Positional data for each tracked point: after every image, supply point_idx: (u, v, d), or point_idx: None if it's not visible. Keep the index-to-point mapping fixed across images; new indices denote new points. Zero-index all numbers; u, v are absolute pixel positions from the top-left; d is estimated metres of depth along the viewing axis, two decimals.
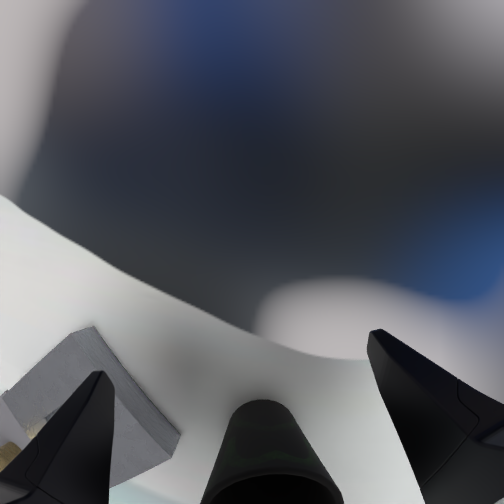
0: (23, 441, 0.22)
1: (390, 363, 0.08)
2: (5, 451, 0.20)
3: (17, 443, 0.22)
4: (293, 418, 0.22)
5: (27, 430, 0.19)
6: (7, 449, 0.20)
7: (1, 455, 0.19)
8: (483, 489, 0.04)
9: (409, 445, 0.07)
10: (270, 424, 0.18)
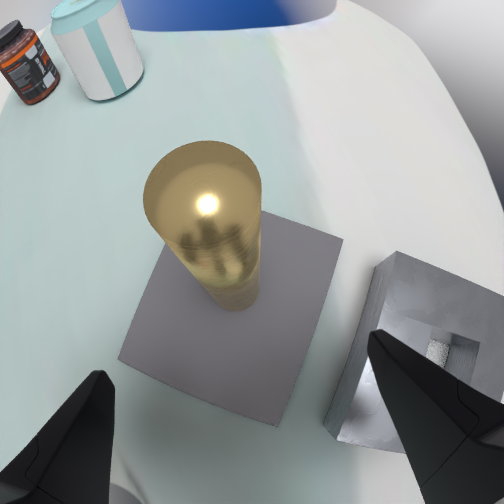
0: (282, 295, 0.21)
1: (390, 363, 0.08)
2: None
3: (264, 286, 0.22)
4: None
5: (386, 310, 0.17)
6: None
7: None
8: (483, 489, 0.04)
9: (409, 445, 0.07)
10: None
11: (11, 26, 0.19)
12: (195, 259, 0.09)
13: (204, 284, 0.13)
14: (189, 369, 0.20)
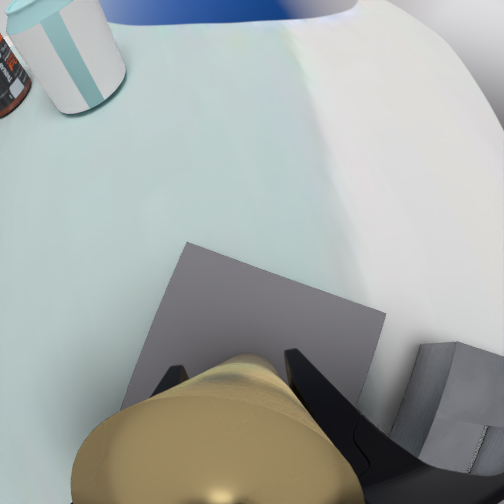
0: None
1: (294, 387, 0.08)
2: None
3: (285, 380, 0.16)
4: None
5: (438, 417, 0.12)
6: None
7: None
8: None
9: None
10: None
11: None
12: None
13: None
14: None
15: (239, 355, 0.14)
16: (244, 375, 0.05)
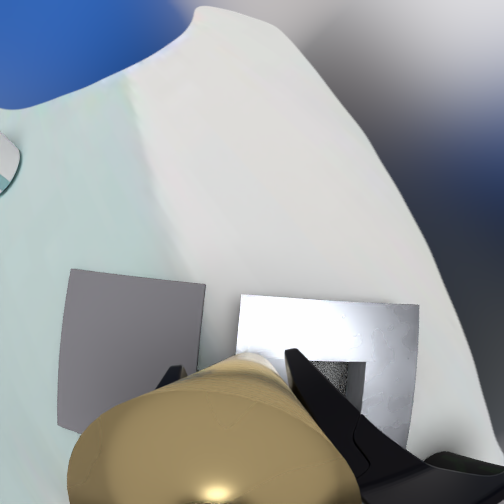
0: (160, 350, 0.22)
1: (294, 387, 0.08)
2: None
3: (143, 345, 0.22)
4: None
5: None
6: None
7: None
8: None
9: None
10: None
11: None
12: None
13: None
14: None
15: (238, 354, 0.14)
16: (241, 372, 0.05)
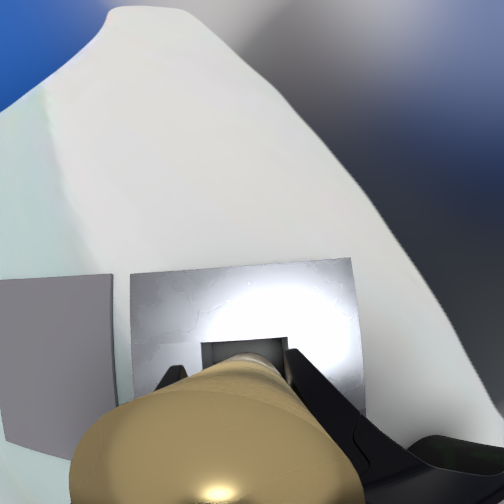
0: (77, 351, 0.19)
1: (294, 387, 0.08)
2: None
3: (61, 347, 0.19)
4: None
5: (137, 343, 0.16)
6: None
7: None
8: None
9: None
10: None
11: None
12: None
13: None
14: (44, 435, 0.17)
15: (239, 354, 0.14)
16: (244, 372, 0.05)
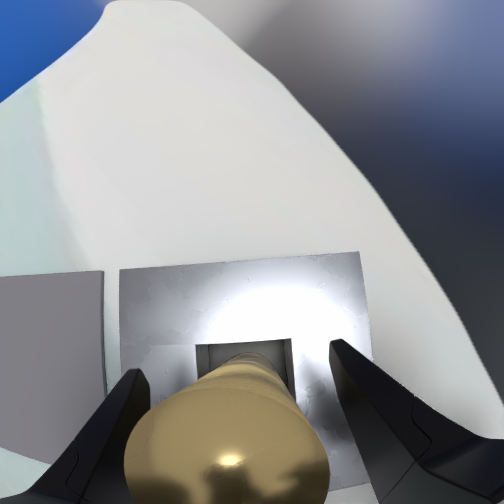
0: (65, 352, 0.17)
1: (346, 375, 0.08)
2: None
3: (50, 348, 0.17)
4: None
5: (127, 345, 0.14)
6: None
7: None
8: None
9: (367, 460, 0.07)
10: None
11: None
12: None
13: None
14: (33, 440, 0.15)
15: None
16: (246, 373, 0.06)
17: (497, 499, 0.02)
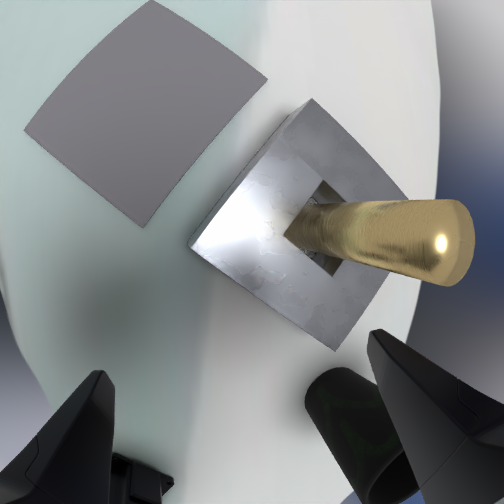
0: (191, 104, 0.20)
1: (390, 363, 0.08)
2: None
3: (178, 91, 0.19)
4: None
5: (280, 142, 0.18)
6: None
7: None
8: (483, 489, 0.04)
9: (409, 445, 0.07)
10: None
11: None
12: (407, 267, 0.11)
13: (344, 245, 0.15)
14: (81, 148, 0.18)
15: None
16: None
17: None
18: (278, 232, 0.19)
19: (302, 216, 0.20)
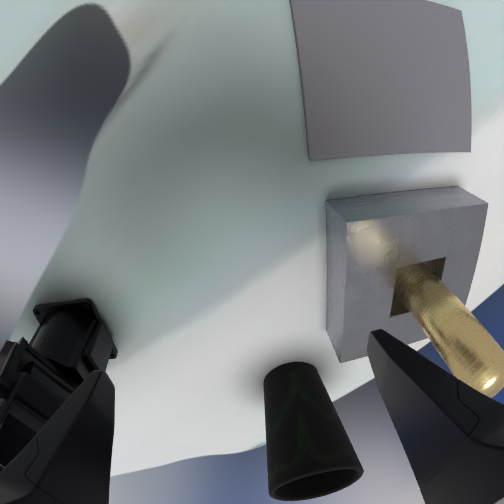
0: (421, 115, 0.18)
1: (390, 363, 0.08)
2: None
3: (422, 96, 0.18)
4: None
5: (451, 211, 0.18)
6: None
7: None
8: (483, 489, 0.04)
9: (409, 445, 0.07)
10: None
11: None
12: (467, 376, 0.13)
13: (436, 321, 0.16)
14: (325, 54, 0.16)
15: None
16: None
17: None
18: (396, 263, 0.20)
19: None
